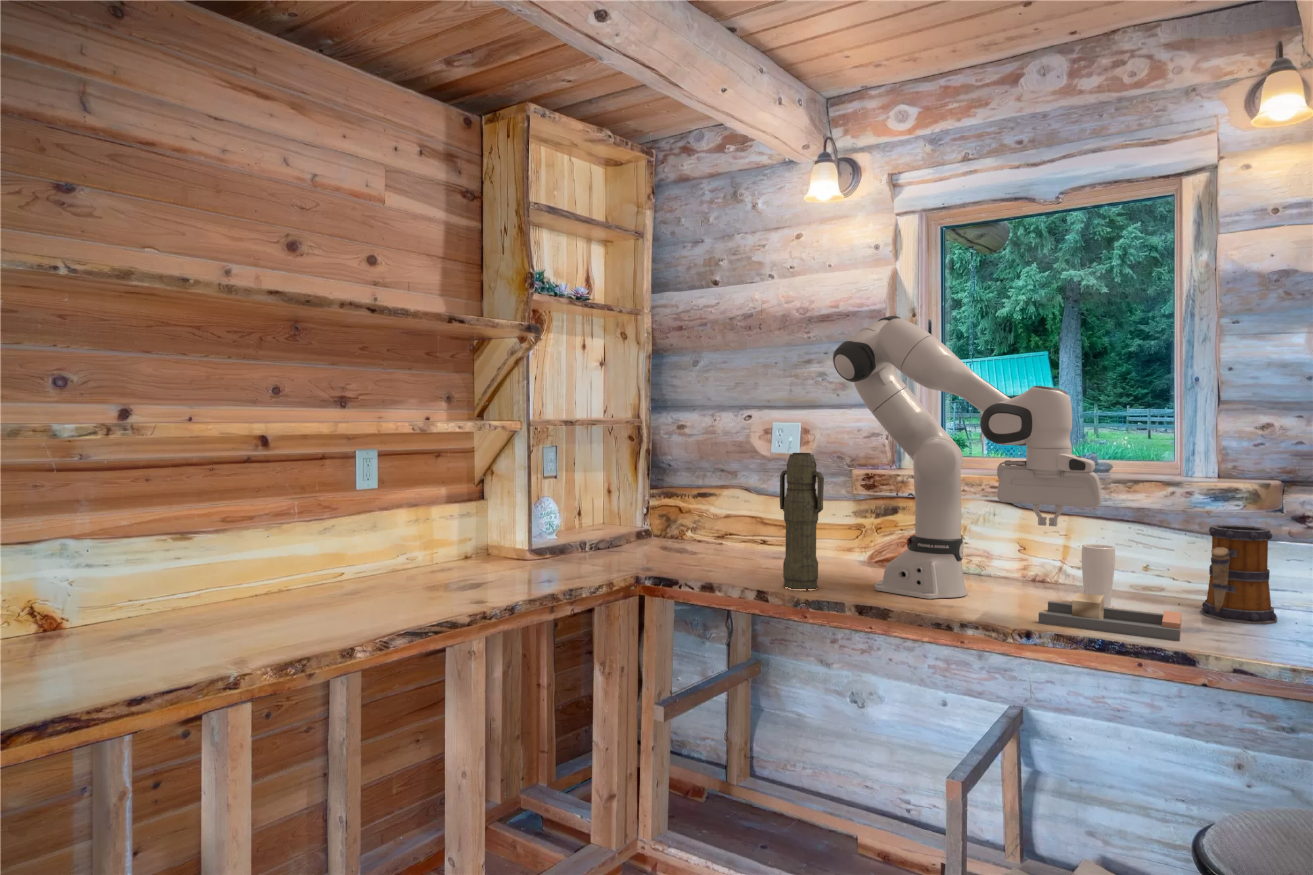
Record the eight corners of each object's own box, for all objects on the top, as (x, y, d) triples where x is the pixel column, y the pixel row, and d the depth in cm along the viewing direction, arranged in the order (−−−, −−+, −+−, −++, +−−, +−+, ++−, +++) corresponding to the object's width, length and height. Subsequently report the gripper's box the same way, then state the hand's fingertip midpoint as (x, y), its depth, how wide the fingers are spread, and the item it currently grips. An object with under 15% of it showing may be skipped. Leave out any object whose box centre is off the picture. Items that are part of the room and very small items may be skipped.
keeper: (1071, 624, 173) (1072, 600, 173) (1077, 615, 180) (1077, 592, 180) (1099, 627, 170) (1099, 603, 170) (1103, 618, 178) (1103, 595, 177)
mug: (1254, 631, 174) (1256, 535, 173) (1178, 617, 185) (1180, 528, 185) (1288, 618, 185) (1290, 528, 184) (1215, 606, 197) (1216, 521, 196)
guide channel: (1038, 629, 174) (1038, 608, 174) (1048, 616, 186) (1049, 596, 186) (1179, 648, 160) (1180, 625, 160) (1181, 632, 172) (1181, 611, 172)
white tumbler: (1094, 615, 187) (1095, 548, 187) (1074, 608, 194) (1075, 544, 193) (1121, 613, 188) (1122, 548, 188) (1099, 607, 195) (1100, 543, 195)
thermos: (817, 593, 209) (818, 454, 208) (773, 588, 215) (774, 453, 214) (828, 587, 217) (829, 453, 216) (785, 582, 223) (786, 451, 222)
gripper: (994, 460, 182) (993, 523, 182) (1099, 463, 171) (1098, 531, 171) (1000, 459, 187) (999, 520, 187) (1103, 462, 176) (1101, 527, 176)
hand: (1047, 525), depth 179 cm, fingers closed
